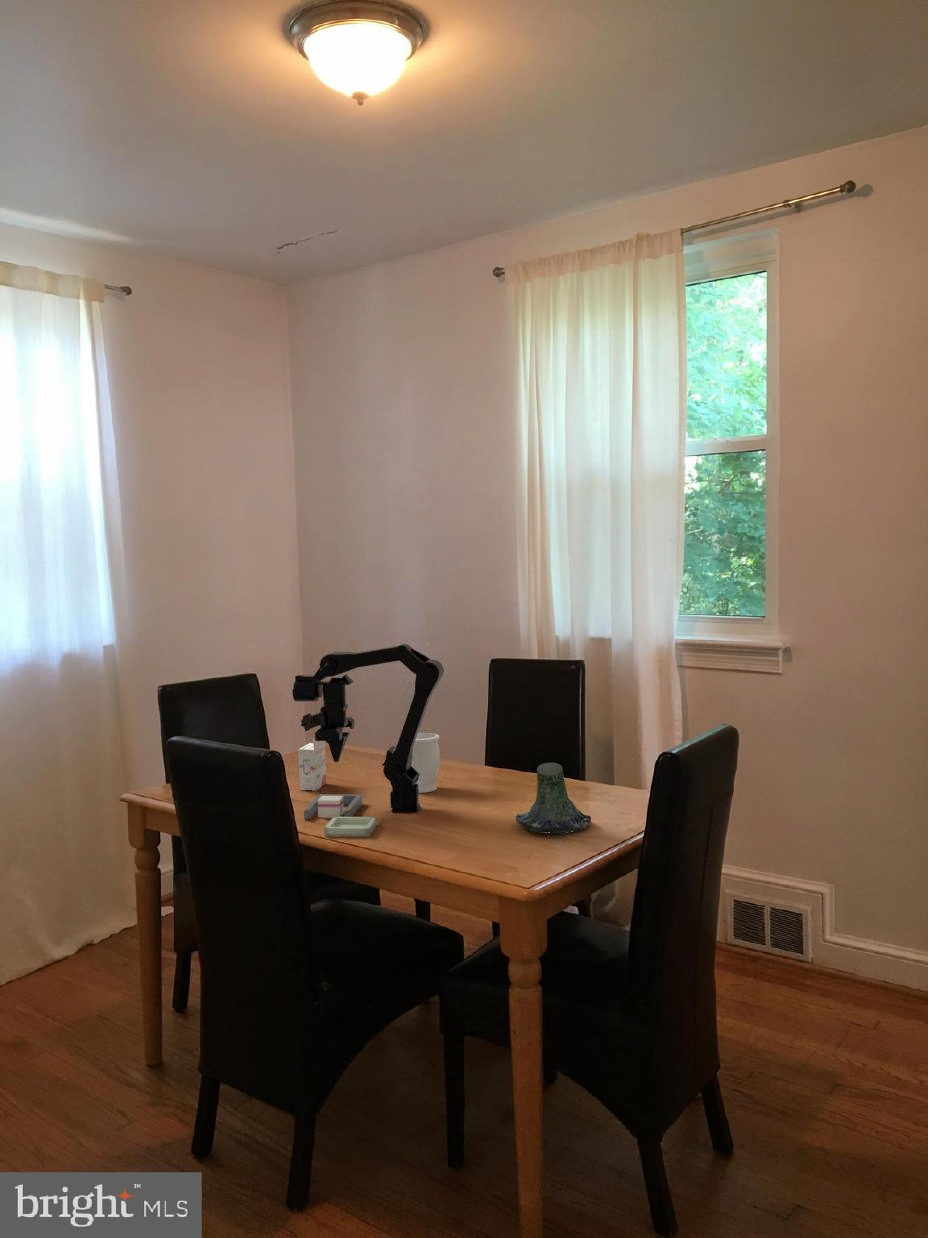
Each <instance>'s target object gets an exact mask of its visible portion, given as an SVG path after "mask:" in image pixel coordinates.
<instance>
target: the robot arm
mask: <svg viewBox="0 0 928 1238" xmlns="http://www.w3.org/2000/svg"><path fill="white" fill-rule="evenodd" d="M392 662H400V663H402V664H403V665H404V667H406V668H407V669H408V670H410V672H412V673H413V674H414V675H415V680H414V694H413V697H412V700H411V702H410V705H409V706H410V707H409V709H408V713H407V714H406V718H405V720H404V723H403V727H402V729H401V732H400V736H399V738H398V741H397V744H396V745H395V746H393V745H392V746H390V748H389V749H388V750H386V754H385V760H384V762H383V763H382V765H381V766H382V767H383V770H382V771H383V772H382V773H383V774H384V777H385V778H386V779H387V780H388V781H389V783H390V785H391V788H392V789H391V791H390V793H389V794H390V797H389V798H390V808H391V810H390V811H391V812H392V813H417V812H418V811H419V809H420V807H421V804H420V802H419V801H420V800H419V796H420V795H419V794H420V793H419V792H418V784H415V783H416V782H417V781H418V779H419V776H420V774H419V773H418V772H417V771H416V770H415V769H414V768H413V767H412V766H411V763H412V757H413V745H414V742H415V739H416V736H417V733H419V730H420V728H421V725H422V722H423V720H424V716H425V713H426V710H427V707H428V704H429V701H430V698H431V696H432V695H433V693H434V692H435V690H436V688H437V686H438V685H439V683H440V681H441V679H442V677H443V676H444V672H445V668H444V667H443V664H442V663H441V662H440V661H439V660H436V659H433V658H432V659H430V658H429V657H428V656H426V655H425V654H423V653H421V652H420V651H418V650H416V649H414V648H413V647H411V646H410V645H409V644H407V643H402V644H399V645H395V646H390V647H389V646H388V647H382V648H377V649H372V650H365V651H359V652H351V651H334V652H331V653H330V652H329V653H328V654H326V655H323V656H322V657H321V659H320V662H319V668H318V669H317V670H316V672H315V673H314V675H304V674H297V675H295V677H294V680H295V681H294V683H293V687H292V689H291V690H292V691H291V692H292V693H291V694H292V697H293V700H294V702H312V703H313V702H318V701H319V699H320V698H322V699H323V706H321V707H320V711H318V712H315V713H313V714H311V713H310V712H309V713H307V714H304V715H303V716H302V718H301V719H300V722H301V724H300V726H301V727H302V728H303V729H304V732H308V731H310V730H311V729H313V728H316V727H320V728H318V729H317V730H316V731H315V732H314V738H315V741H317V742H320V741H324V742H326V743H327V745H328V746H329V750H330V754H331V757H332V760H333V763H338V762H339V761H340V759H341V756H342V754H343V751H344V748H345V747H346V743H347V741H348V738H349V735H350V733H351V732H347V731H346V732H345V729H344V728H349V729H350V730H353V729H354V728H355V727H356V726H355V725H356V724H355V723H356V722H355V719H354V718H353V717H352V716H347V709H348V707H349V706H348V703H347V702H346V701H347V700H346V699H347V698H346V686H350V685H352V684H353V683H354V680H353V679H352V678H351V677H349V676H348V674H344V673H347V672H349V671H351V670H356V669H357V668H364V667H368V666H374V665H375V666H377V665H382V664H386V663H387V664H388V663H392ZM342 674H344V675H343V676H342V677H336V676H337V675H338V676H339V675H342ZM329 677H330V679H329V680H326V679H327V678H329Z"/></svg>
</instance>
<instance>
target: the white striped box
mask: <svg viewBox="0 0 928 1238" xmlns="http://www.w3.org/2000/svg"><path fill="white" fill-rule="evenodd" d="M344 806H345V805H344V799H343V796H321V797H320V798H319V799H318V811H317V818H318V817H321V818H320V819H332V818H333V817H342V816H343V815H344V814H345V813H344V810H345V809H344V808H345V807H344ZM343 813H344V814H343ZM341 815H342V816H341Z"/></svg>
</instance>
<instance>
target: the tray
mask: <svg viewBox="0 0 928 1238" xmlns="http://www.w3.org/2000/svg"><path fill="white" fill-rule="evenodd" d="M377 825H378V819H377V816H353V817H345V816H341V817H333V818H331V819H330V821H329V822H328V823H327V824H326V825H325V827H324V831H323V832H324V833H323V834H324V837H325V838H326V837H330V838H332V837H333V838H336V837H337V838H338V837H339V838H341V837H342V838H370V836H371V835H372V833H373V832H374V830H375V829H376V828H377Z"/></svg>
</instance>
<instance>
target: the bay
mask: <svg viewBox="0 0 928 1238" xmlns="http://www.w3.org/2000/svg"><path fill="white" fill-rule="evenodd" d="M321 796H343V799H344V806H347V807H346V808H345V809H344V817H354V815H355V814H356V813H357V812H358V810H359V809H360V808H361V807H362V805H363V794H345V793H344V794H341V793H339V794H337V793H336V794H331V793H330V794H329V793H326V794H324V793H320V794H318V795H317V796H315V798H314V799H313V800H312V801H311V802H310V803H309V804H308V805H307V806H306V807H305V808H304V809H303V819H307V820H306V821H309V820H310V819H312V817H314V815H316V814H317V812H318V799H319V798H320V797H321ZM316 811H317V812H316ZM356 811H357V812H356ZM308 819H309V820H308Z"/></svg>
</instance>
